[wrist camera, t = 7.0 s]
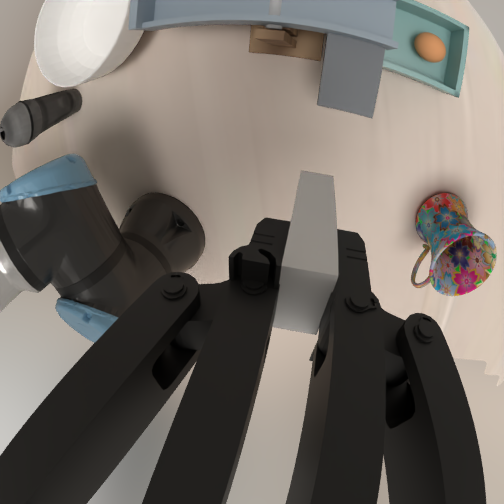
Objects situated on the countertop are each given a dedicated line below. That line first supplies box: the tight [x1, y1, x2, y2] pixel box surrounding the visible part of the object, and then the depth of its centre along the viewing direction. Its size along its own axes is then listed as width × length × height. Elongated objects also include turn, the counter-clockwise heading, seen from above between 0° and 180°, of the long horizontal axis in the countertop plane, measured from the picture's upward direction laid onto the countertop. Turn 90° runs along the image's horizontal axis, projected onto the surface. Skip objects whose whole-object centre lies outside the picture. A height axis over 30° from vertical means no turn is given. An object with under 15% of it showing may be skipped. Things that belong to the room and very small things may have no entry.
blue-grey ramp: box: [128, 0, 399, 118], centre depth 16 cm, size 22×13×4 cm, turn 86°
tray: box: [382, 0, 469, 98], centre depth 17 cm, size 12×9×4 cm
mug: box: [411, 193, 497, 296], centre depth 27 cm, size 12×9×11 cm
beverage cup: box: [0, 89, 82, 147], centre depth 25 cm, size 7×7×20 cm
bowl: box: [34, 0, 144, 87], centre depth 20 cm, size 20×20×8 cm
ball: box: [414, 32, 446, 63], centre depth 16 cm, size 4×4×4 cm
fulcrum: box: [249, 25, 324, 61], centre depth 17 cm, size 8×11×10 cm
